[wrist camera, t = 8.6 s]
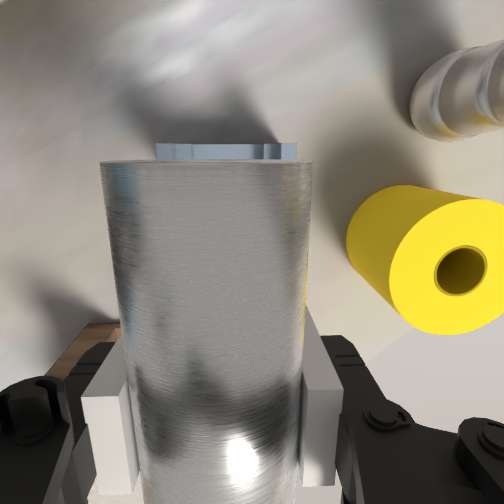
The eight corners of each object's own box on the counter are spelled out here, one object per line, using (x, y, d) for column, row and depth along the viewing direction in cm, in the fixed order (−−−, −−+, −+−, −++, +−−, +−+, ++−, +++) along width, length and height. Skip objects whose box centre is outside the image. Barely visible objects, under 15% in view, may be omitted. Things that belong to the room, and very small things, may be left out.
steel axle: (137, 159, 8) (51, 164, 4) (294, 158, 8) (340, 164, 5) (171, 505, 12) (139, 675, 8) (281, 500, 12) (302, 664, 8)
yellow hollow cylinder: (326, 225, 31) (363, 256, 22) (419, 162, 30) (499, 167, 21) (376, 303, 34) (428, 358, 25) (464, 248, 32) (552, 285, 23)
